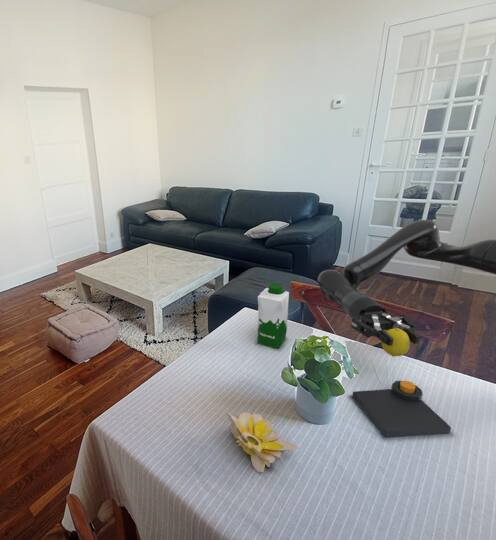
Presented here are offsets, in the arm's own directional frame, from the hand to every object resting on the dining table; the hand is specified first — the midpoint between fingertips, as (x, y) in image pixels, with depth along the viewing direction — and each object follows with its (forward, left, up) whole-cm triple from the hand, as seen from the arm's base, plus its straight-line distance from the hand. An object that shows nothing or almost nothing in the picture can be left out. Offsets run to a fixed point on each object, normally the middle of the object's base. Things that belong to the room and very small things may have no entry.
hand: (404, 341), depth 80 cm
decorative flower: (+38, +13, -18) cm, 44 cm away
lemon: (0, -3, -6) cm, 7 cm away
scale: (+2, +5, -18) cm, 18 cm away
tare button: (-3, 0, -14) cm, 15 cm away
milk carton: (+20, -30, -18) cm, 41 cm away
